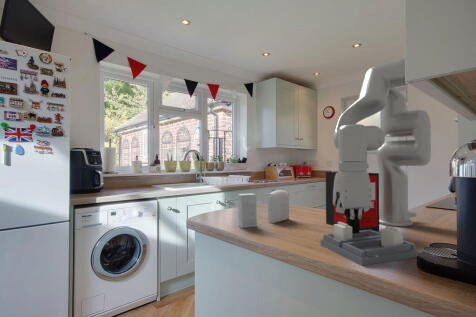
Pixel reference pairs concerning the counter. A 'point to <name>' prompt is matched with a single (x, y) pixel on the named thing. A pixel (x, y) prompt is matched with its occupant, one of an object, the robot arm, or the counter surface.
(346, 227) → the tab
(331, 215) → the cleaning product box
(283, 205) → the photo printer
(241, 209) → the skincare box
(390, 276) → the counter surface
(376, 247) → the switch board
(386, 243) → the tab
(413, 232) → the counter surface
